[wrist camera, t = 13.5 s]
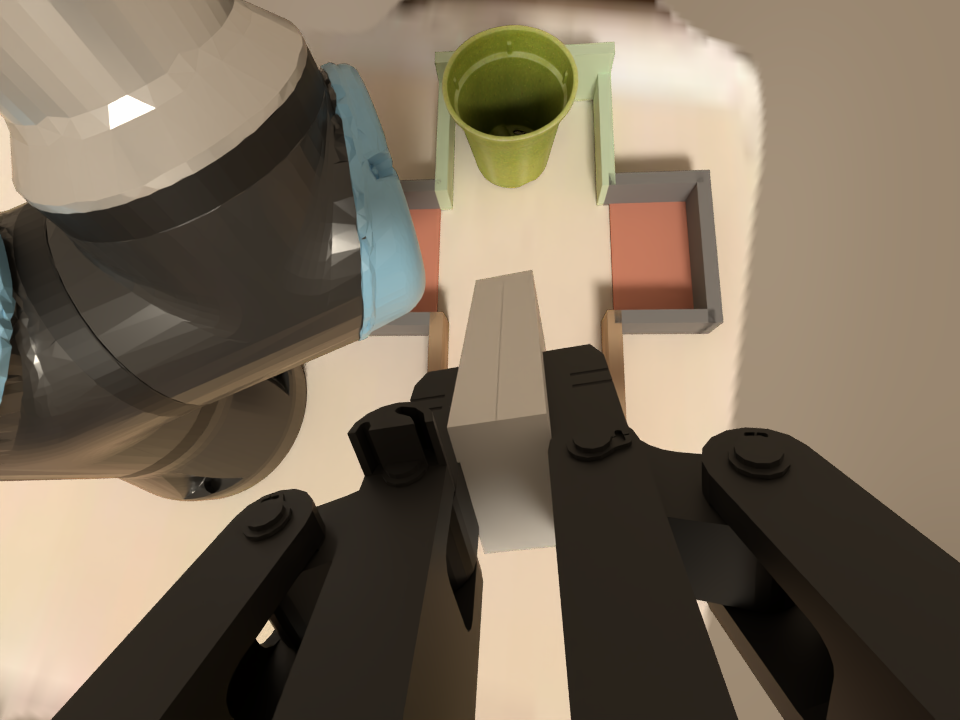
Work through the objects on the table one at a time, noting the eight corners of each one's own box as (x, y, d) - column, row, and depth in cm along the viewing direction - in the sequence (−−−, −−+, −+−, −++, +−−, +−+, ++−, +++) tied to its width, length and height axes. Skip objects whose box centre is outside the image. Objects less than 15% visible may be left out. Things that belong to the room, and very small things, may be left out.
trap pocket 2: (442, 335, 40) (435, 324, 37) (351, 335, 41) (337, 325, 38) (447, 198, 43) (441, 179, 40) (360, 201, 44) (349, 182, 41)
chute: (619, 452, 37) (627, 450, 34) (432, 449, 38) (424, 447, 36) (614, 321, 39) (621, 309, 36) (436, 323, 41) (429, 312, 38)
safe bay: (609, 204, 42) (620, 169, 37) (440, 209, 43) (430, 176, 38) (604, 89, 44) (614, 42, 39) (444, 97, 45) (435, 52, 40)
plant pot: (476, 99, 45) (465, 13, 36) (580, 121, 43) (594, 37, 35) (443, 191, 43) (423, 123, 35) (550, 218, 42) (556, 153, 33)
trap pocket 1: (708, 333, 39) (723, 322, 36) (608, 334, 39) (614, 323, 36) (696, 191, 41) (709, 169, 38) (602, 194, 42) (608, 173, 39)
